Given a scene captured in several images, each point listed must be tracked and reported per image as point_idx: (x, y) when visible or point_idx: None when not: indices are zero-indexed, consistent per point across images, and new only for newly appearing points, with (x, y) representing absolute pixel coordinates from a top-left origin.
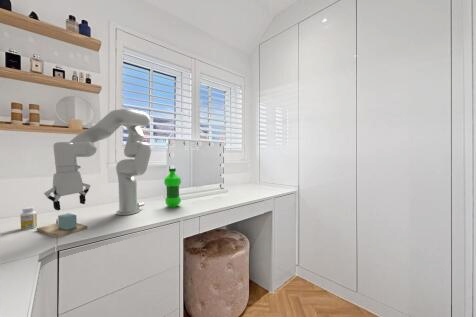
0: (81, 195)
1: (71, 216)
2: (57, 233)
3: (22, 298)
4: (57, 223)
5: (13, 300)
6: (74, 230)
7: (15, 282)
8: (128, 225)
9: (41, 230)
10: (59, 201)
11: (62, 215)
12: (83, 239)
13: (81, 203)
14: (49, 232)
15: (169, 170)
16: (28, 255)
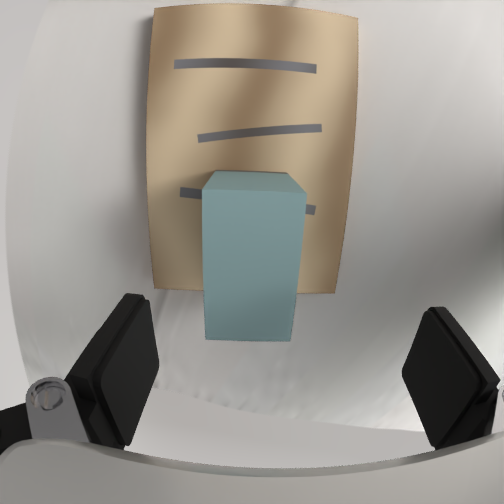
0: (458, 429)
1: (250, 339)
2: (169, 275)
3: None
4: (282, 14)
5: None
6: None
7: None
8: (404, 400)
9: (149, 80)
10: (128, 444)
11: (225, 232)
12: (221, 404)
13: (415, 340)
14: (149, 204)
15: None
16: (62, 370)
